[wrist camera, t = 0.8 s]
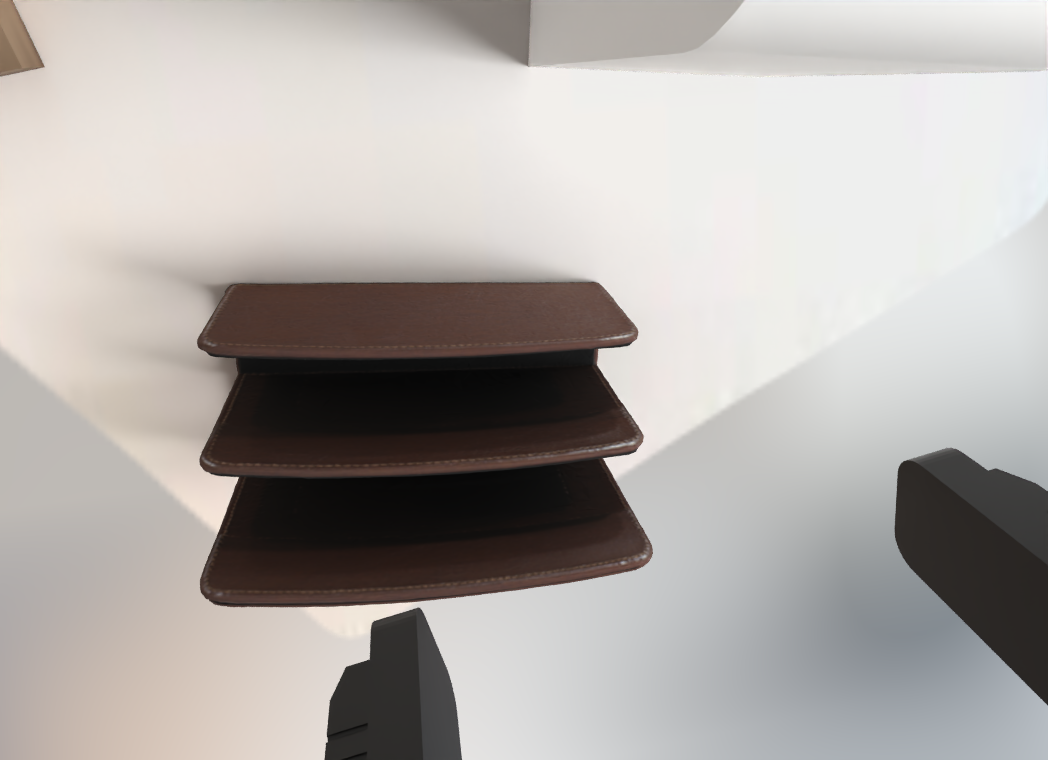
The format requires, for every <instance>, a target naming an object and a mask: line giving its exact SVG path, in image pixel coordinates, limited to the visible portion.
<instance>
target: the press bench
mask: <svg viewBox="0 0 1048 760" xmlns="http://www.w3.org/2000/svg"><path fill="white" fill-rule="evenodd" d="M42 67H44V65H43V63H42V61H41V59H40V56H39V54H38V52H37V50H36V48H35V46H34V44H33V42H32V40H31V38H30V36H29V34H28V32H27V30H26V27H25V25H24V23H23V21H22V19H21V17H20V15H19V13H18V11H17V9H16V7H15V5H14V3H13V1H12V0H0V76H5V75H10V74H14V73H19V72H24V71H28V70H33V69H38V68H42Z"/></svg>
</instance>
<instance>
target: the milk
mask: <svg viewBox="0 0 1048 760" xmlns="http://www.w3.org/2000/svg"><path fill="white" fill-rule="evenodd" d="M528 67H545V68H567V69H589V70H611V71H633V72H655V73H677V74H699V75H721V76H743V77H788V76H837V75H887V74H936V73H985V72H1034V71H1045V70H1048V0H531V11H530V36H529V60H528Z"/></svg>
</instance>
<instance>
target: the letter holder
mask: <svg viewBox="0 0 1048 760" xmlns="http://www.w3.org/2000/svg"><path fill="white" fill-rule="evenodd" d="M637 336H638V330H637V327H636V326H635V325H634V324H633V322H631V320H630V319H629V318H628V317H627V316H626V314H625V313H624V312H623V310H622V309H621V308H620V307H619V306H618V305H617V303H616V302H615V301H614V299H613V298H612V297H611V296H610V294H609V293H608V292H607V291H606V290H605V289H604V288H603V287H602V286H601V285H600V284H599V283H595V282H593V283H371V284H363V283H361V284H356V283H345V284H236V285H231V286H229V287H228V288H227V289H226V291H225V295H224V296H223V298H222V300H221V301H220V303H219V305H218V306H217V308H216V310H215V311H214V313H213V315H212V316H211V318H210V319H209V321H208V323H207V324H206V326H205V328H204V329H203V331H202V333H201V334H200V336H199V338H198V340H197V344H198V347H199V348H200V349H201V350H204V351H206V352H207V353H208V354H209V355H210V356H213V357H226V358H236V364H237V370H238V376H237V378H236V380H235V382H234V385H233V387H232V390H231V392H230V393H229V396H228V398H227V400H226V402H225V404H224V406H223V409H222V411H221V413H220V416H219V418H218V420H217V422H216V424H215V426H214V428H213V431H212V433H211V435H210V437H209V439H208V441H207V443H206V445H205V447H204V449H203V451H202V454H201V456H200V459H199V460H200V466H201V467H202V468H203V469H204V470H205V471H206V472H209V473H210V474H213V475H217V476H229V477H239V479H238V482H237V484H236V486H235V489H234V492H233V495H232V498H231V500H230V503H229V505H228V508H227V512H226V514H225V516H224V519H223V522H222V525H221V527H220V530H219V532H218V535H217V538H216V540H215V542H214V545H213V548H212V550H211V552H210V554H209V556H208V560H207V562H206V564H205V567H204V570H203V573H202V576H201V579H200V590H201V593H202V594H203V595H204V597H205V598H206V599H209V601H211V602H212V603H213V604H215V605H220V606H227V607H335V606H353V605H370V604H392V603H405V602H419V601H427V600H437V599H446V598H456V597H464V596H473V595H481V594H488V593H497V592H505V591H513V590H521V589H528V588H534V587H541V586H549V585H557V584H564V583H570V582H576V581H582V580H588V579H592V578H598V577H603V576H609V575H614V574H619V573H623V572H628V571H633V570H636V569H639V568H641V567H643V566H644V565H645V564H647V563H648V562H649V561H650V559H651V557H652V554H653V552H652V545H651V543H650V541H649V539H648V537H647V536H646V534H645V532H644V530H643V528H642V527H641V525H640V524H639V522H638V520H637V518H636V516H635V514H634V513H633V511H632V509H631V508H630V506H629V504H628V502H627V501H626V499H625V497H624V495H623V494H622V492H621V490H620V488H619V486H618V485H617V483H616V481H615V479H614V478H613V475H612V473H611V472H610V470H609V468H608V467H607V465H606V463H605V461H604V460H603V458H607V457H614V456H622V455H629V454H631V453H634V452H636V450H637V449H638V447H639V446H640V445H641V444H642V442H643V438H644V437H643V434H642V432H641V430H640V429H639V427H638V425H637V424H636V423H635V421H634V420H633V418H632V416H631V415H630V414H629V412H628V411H627V409H626V408H625V406H624V405H623V403H621V401H620V400H619V399H618V397H617V395H616V394H615V392H614V391H613V389H612V388H611V386H610V385H609V382H608V381H607V380H606V379H605V377H604V376H603V374H602V372H601V371H600V369H599V368H598V366H597V359H598V349H601V348H615V347H623V346H628V345H630V344H631V343H632V342H633V341H635V340H636V339H637Z"/></svg>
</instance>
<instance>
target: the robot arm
mask: <svg viewBox="0 0 1048 760" xmlns="http://www.w3.org/2000/svg"><path fill="white" fill-rule="evenodd" d="M895 538H896V542H897V545H898V548H899V550H900V552H901V554H902V556H903V558H904V559H905V561H906V563H907V564H908V565H909V567H910V568H911V569H912V570H913V571H914V572H915V573H916V574H917V575H918V576H919V577H920V578H921V579H922V580H923V581H924V582H925V583H926V584H927V585H928V586H929V587H930V588H931V589H932V590H933V591H934V592H935V593H936V594H937V595H938V596H939V597H940V598H941V599H942V600H943V601H944V602H945V603H946V604H947V605H948V606H949V607H950V608H951V609H952V610H953V611H954V612H955V613H956V614H957V615H958V616H959V617H960V618H961V619H962V620H963V621H964V622H965V623H966V624H967V625H968V626H969V627H970V628H971V629H972V630H973V631H974V632H975V633H976V634H977V635H978V636H979V637H980V638H981V639H982V640H983V641H984V642H985V643H986V644H987V645H988V646H989V647H990V648H991V649H992V650H993V651H994V652H995V653H996V654H997V655H998V656H999V657H1000V658H1001V659H1002V660H1003V661H1004V662H1005V663H1006V664H1007V665H1008V666H1009V667H1010V668H1011V669H1012V670H1013V671H1014V672H1015V673H1016V674H1017V675H1018V676H1019V677H1020V678H1021V679H1022V680H1023V681H1024V682H1025V683H1026V684H1027V685H1028V686H1029V687H1030V688H1031V689H1032V690H1033V691H1034V692H1035V693H1036V694H1037V695H1038V696H1039V697H1040V698H1041V699H1042V700H1043V701H1044V702H1045V703H1046V704H1047V705H1048V491H1046V490H1045V489H1043V488H1042V487H1040V486H1039V485H1037V484H1036V483H1033V482H1031V481H1028V480H1025V479H1022V478H1020V477H1017V476H1015V475H1012V474H1009V473H1007V472H1004V471H1001V470H999V469H993V470H989V471H988V470H986V469H985V468H984V467H982V466H981V465H979V464H978V463H976V462H975V461H973V460H972V459H971V458H969V457H968V456H966V455H965V454H964V453H962V452H960V451H959V450H956V449H953V448H946V449H942V450H939V451H936V452H933V453H929V454H926V455H923V456H919V457H917V458H913V459H910V460H907V461H904V462H903V463H901V465H900V466H899V469H898V479H897V497H896V515H895ZM370 643H371V644H370V660H367V661H364V662H361V663H358V664H354V665H351V666H348V667H346V668H345V670H344V673H343V675H342V677H341V679H340V681H339V683H338V685H337V687H336V690H335V692H334V694H333V696H332V698H331V700H330V706H329V717H328V728H327V737H328V742H327V743H326V751H325V760H462V756H461V747H460V737H459V727H458V717H457V709H456V702H455V697H454V692H453V688H452V683H451V680H450V676H449V674H448V670H447V668H446V665H445V663H444V661H443V658H442V656H441V654H440V651H439V649H438V647H437V644H436V642H435V639H434V637H433V635H432V632H431V630H430V627H429V625H428V623H427V620H426V618H425V616H424V613H423V612H422V610H421V609H420V608H416V609H413V610H409V611H406V612H403V613H399V614H396V615H393V616H390V617H386V618H383V619H380V620H377V621H374V622H373V623H372V626H371V642H370Z"/></svg>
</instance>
